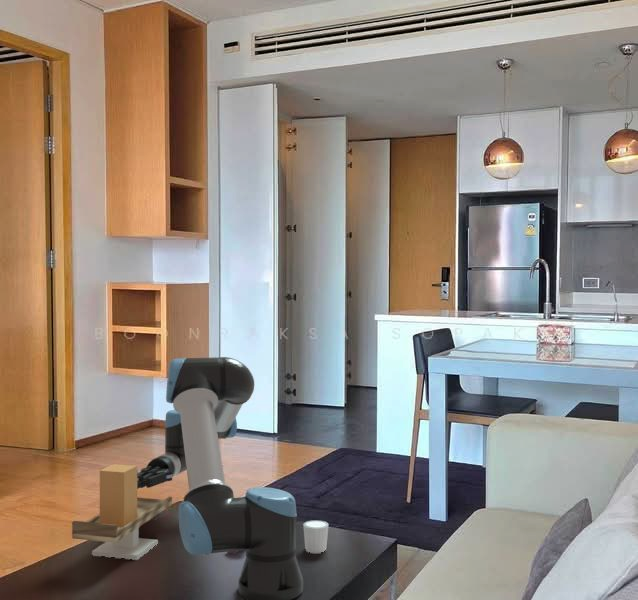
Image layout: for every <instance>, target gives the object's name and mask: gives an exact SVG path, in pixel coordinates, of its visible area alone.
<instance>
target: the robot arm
mask: <svg viewBox="0 0 638 600" xmlns="http://www.w3.org/2000/svg"><path fill="white" fill-rule="evenodd" d="M166 381H167V383H166V391H165V392H166V393H165V400H166V403H169V404H172V406H173V409H171V410H170V409H169V410H168V411H167V412H166V414H165V423H164V435H165V437H164V438H165V439H164V440H165V442H164V453H163V454H160V455H159V456H157V457H155V458H154V459H151V460H150V461H149V462H148V464H147V465H146V467H143V468H140V469H141V470H139V469H138V468H137V490H138V489H143V488H145V487H146V488H147V489H149V488H152V487H156V486H158V485H160V484H164V483H165V482H171V481H173V477H175V476H177V475H179V474H181V473H183V472H185V471H186V474H187V476H186V477H187V482H188V483H187V484H188V491H187V492H186V493H185V494H184V496H183V502H180V503H179V505H178V509H177V518H178V526H179V533H180V539H181V541H182V544H183V547H184V549H185V550H186V552H188V553H189V554H190V555H195V556H196V555H206V556H207V555H208V556H209V555H210V554H216V553H217V554H218V553H227V552H228V551H236V550H239V551H240V550H242V551H244V550H245V560H244V563H243V566H242V568H241V571H240V575H239V578H238V581H237V582H238V584H237V586H238V588H237V589H238V594H239V595H240V596H241V597H242V598H244V599H245V600H294V599H296V598H297V597H299V596H301V594H302V593H303V590H304V578H303V575H302V572H301V569H300V566H299V563H298V559H297V556H296V555H297V552H296V549H297V516H298V514H297V505H296V499H295V497H294V496H293V495H292V494H291V493H290V492H288V491H286V490H283V489H278V488H273V487H267V486H266V487H265V486H259V487H258V486H256V487H253V488H252V487H251V488H248V489H247V490H246V493H245V496H240V497H235V496H234V495H235V494H234V491H233V488H232V487H231V486H229V485H228V484H227V483H226V481H225V474H224V469H223V461H222V455H221V450H220V443H219V440H221V439H229V438H230V439H231V438H235V436H236V435H237V430H238V423H237V422H238V421H237V418H236V417H237V415H238V414H239V412H240V410H241V408H242V407H243V404H245V403H247V402H248V401H249V400H250V399H251V397H252V395H253V393H254V390H255V379H254V375H253V373H252V372H251V370H250V369H249V367H248V366H247V365H245V364H244V363H243V362H241V361H239V360H238V359H236V358H234V357H228V356H218V357H214V356H213V357H184V358H183V357H182V358H174V359H172V360H171V361H170V362H169V364H168V373H167V380H166Z"/></svg>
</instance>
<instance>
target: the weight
mask: <svg viewBox="0 0 638 600" xmlns="http://www.w3.org/2000/svg"><path fill="white" fill-rule="evenodd" d="M137 469H138V465H133V464H132V465H130V464H119V463H118V464H117V463H113V464H111V465H108V466H106V467H105V468H102V469H100V470H99V514H100V523H104V524H115V525H117V526H123V527H124V526H125V525H127V524H128V523H130V522H131V521H133V520H134V519H136V518H137V498H138V489H137Z"/></svg>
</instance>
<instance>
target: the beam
mask: <svg viewBox="0 0 638 600" xmlns="http://www.w3.org/2000/svg"><path fill="white" fill-rule="evenodd" d="M172 505H173V497H172V496H168V497H167V498H165V499H160V498H147V497H146V498H145V497H137V518H136V519H134V520H133V521H131V522H130V523H128V524H127V525H125V526H124V527H123V526H117V525H115V524H104V523H100V513H99V514H97V515H95V516H94V517H92V518H90V519H88V520H86V521H83V520H82V521H80V520H73V521H71V534H72V535H71V539H73V540H74V539H75V540H83V541H92V542H93V541H94V542H103V543H105V542H113V543H116V542H118V541H119V540H121V539H122V538H124V537H125V536H126V535H128V534H129V533H131V532H132V531H134V530H135V529H137V528H138V527H139V528H140V527H141V526H142V525H144V524H145V523H147V522H149V521H150V520H152V521H156V520H158V519H159V518H160V517H162V516H163V515H164V514H166V513H165V512H166V511H165V510H166V509H168V508H169V507H170V506H172Z"/></svg>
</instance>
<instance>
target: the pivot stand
mask: <svg viewBox="0 0 638 600" xmlns="http://www.w3.org/2000/svg"><path fill="white" fill-rule="evenodd" d="M139 530H140V527H138V528H137V529H135V530H134V531H132V532H131V533H129V534H128V535H126V536H125V537H124V538H122V539H121V540H119V541H118V542H116V543H113V542H103V543H102V544H100V545H99V546H97V547H96V548H95V549H93V550H91V555H93V557H101V556H105V557H104V558H111V557H115V558H114V559H121V558H125V559H124V560H130V559H132V561H138V560H139V559H141V558H142V557H143V556H145V555H146V554H147V553H149V552H150V551H151V550H152V549H154V548H155V547H156V546H158V545H159V540H158V539H153V538H152V539H151V538H141V537H139V534H140V532H139ZM157 544H158V545H157ZM155 545H156V546H155ZM154 546H155V547H154ZM153 547H154V548H153ZM150 549H151V550H150ZM149 550H150V551H149ZM144 554H145V555H144ZM140 557H141V558H140Z"/></svg>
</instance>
